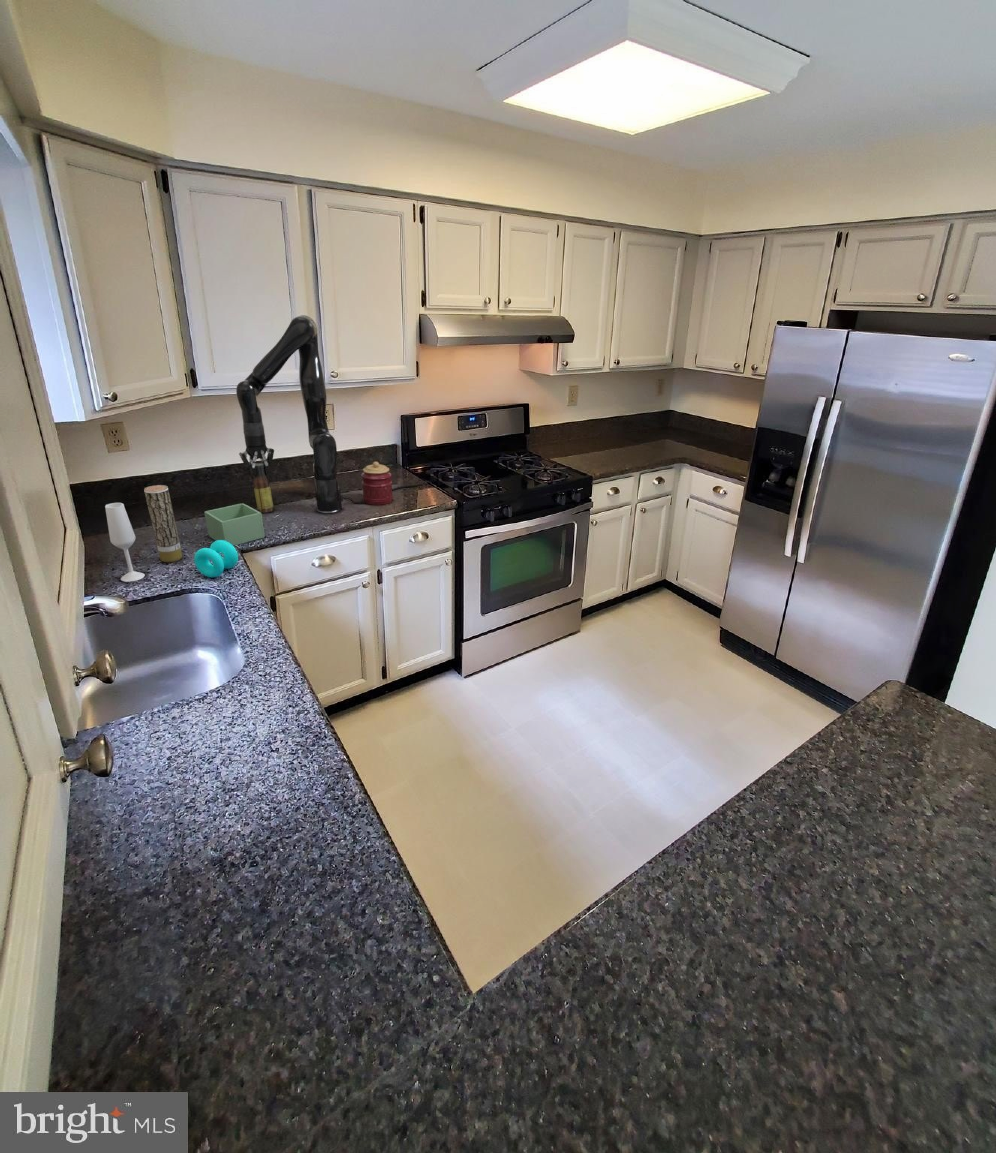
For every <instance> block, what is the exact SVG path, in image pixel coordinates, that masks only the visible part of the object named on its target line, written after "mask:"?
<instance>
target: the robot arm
mask: <svg viewBox="0 0 996 1153" xmlns="http://www.w3.org/2000/svg"><path fill="white" fill-rule="evenodd" d="M318 336H319V335H318V326H317V323H316V322H315V320H314V319H313V318H311V316H308V315H306V314H305V315H304V314H302V315H298V316H295V317H293V318H292V319H291V320H290V323H289V324H288V327H287V328H286V329H285V331H284V333H283V335H281V337H280V338H279V340H278V342H276V344H275V345H274V346H273V347H272V348H271V349H270V350H269V351H268V352H267V353H266V354H265V355H264V356H263V357H262V358H261V359H260V361H259V362H258V363H257V364H256V365H255V366H254V367H253V368H252V372H251V373H250V374H249V375H248V376H247V377H246V378H245V379H244V380H242V381H240V382H239V383H238V384H237V385H236V389H235V391H236V392H235V393H236V398H237V402H238V404H239V407H240V410H241V417H242V430H243V437H244V443H245V451H243V452H239V454H238V455H239V457H240V459H241V461H242V463H243V465H244V466H245V467H247V468H249V469H250V475H251V476H252V477H253V478H254V477H257V475H256V468H255V463H257V460H260V461H261V463H263V464H264V473H265V475H266V476H268V474H269V465H271V464H272V463H273V460H274V453H275V449H273V448H272V447H268V446H267V443H266V442H267V441H266V434H265V433H266V432H265V426H264V423H263V416H262V410H261V408H260V406H258V401H257V397H258V396H259V395H260V394H261V393H262V391H263V390H264V389H265V387H266V386H267V385H268V384H269V383H270V382H271V381H272V380H273V379H274V378H275V376H277V374H278V373H279V372H280V371H281V370H282V369H283V367H284V366H285V364H286V363H287V362H288V360H289V359H290V358H291V357H292V356H293V355H294V354H295V353H296V352H297V351H298V357H299V366H298V367H299V368H298V372H299V373H298V375H299V376H298V380H299V386H300V392H301V397H302V403H303V406H304V410H305V415H306V419H307V432H308V443H309V444H308V445H309V446H310V448H311V449H312V452H313V464H312V470H313V479H314V489H315V490H314V491H315V502H316V511H317V513H320V514H327V515H330V514H336V513H338V512H340V511H342V510H343V503H342V502H344V500H348V501H350V502H351V503H353V504H366V503H365V501H364V500H362V501H359V500H358V501H357V500H354V499H352V498H350V497H348V496H344V495H342V492H341V490H342V489H341V487H339V481H338V469H337V468H338V467H337V466H338V449H337V448H338V447H337V442H336V439H335V436H333V435H332V434H331V433H330V430H329V427H328V421H327V416H326V413H327V412H326V411H327V401H328V400H327V389H326V383H325V382H326V381H325V377H324V372H323V367H322V363H321V358H320V351H319V337H318ZM266 454H267V455H266ZM248 456H249V458H248ZM248 459H249V460H248ZM429 481H430V480H424V481H421V482H420V483H423V484H426V483H425V482H428V483H427V484H430V485H433V483H432V482H431V481H430V482H429ZM416 484H417V485H414V484H406V485H407V486H405V485H400V486H401V487H399V486H396V487H397V488H395V487H393V488H394V489H393V488H392V492H393V491H395V490H399V489H403V488H413V487H418V486H421V485H423V484H419V483H416Z"/></svg>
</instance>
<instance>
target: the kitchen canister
mask: <svg viewBox="0 0 996 1153" xmlns="http://www.w3.org/2000/svg"><path fill="white" fill-rule="evenodd" d="M360 475H361V478H362V481H361V486H362V501H365V503H364V504H367V505H371V506H378V505H379V506H381V505H386V504H389V503H391V502H392V501H393V498H394V497H393V491H392V489H393V485H392V484H393V481H392V479H391V477H392V472H390V468H389V467H387V466H386V465H384V464H380V463H379V462H378V461H373V462H372V464H368V465H366V466H365V467H364V468H363V469H362V473H361V474H360Z"/></svg>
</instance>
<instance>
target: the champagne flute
mask: <svg viewBox="0 0 996 1153" xmlns="http://www.w3.org/2000/svg"><path fill="white" fill-rule="evenodd" d="M104 508H105V514H106V515H105V516H106V521H107V522H106V523H107V528H108V535H109V541H110V543H111V544H112V545H113V546H114V547H115V548H118V549H120V550H123V553H124V556H125V561H126V564H127V565H126V566H127V569H128V572H127V573H126V574H124V575H122V576H121V577H120V580H121V581H122V582H126V583H129V582H136V581H139V580H142V579H143V578H145V575H146V574H145V573H143V572H140V571H137V570H136V571H135V570H134V568H133V567H134V566H133V563H132V559H131V556H130V552H129V549H130V548H131V547H132V546H133V544H134V543H135V541H136V535H135V532H134V529H133V526H132V523H131V521H130V519H129V516H128V513H127V510H126V508H125V504H124V503H122V502H111V503H107V504H105V506H104Z"/></svg>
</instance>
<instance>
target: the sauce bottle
mask: <svg viewBox="0 0 996 1153" xmlns="http://www.w3.org/2000/svg"><path fill="white" fill-rule="evenodd" d="M255 468H256V475H257V477H253V480H252V483H253V490H254V496H255V497H254V498H255V502H256V507H257V511H258V512H260V513H261V514H267V513H268V514H269V513H272V512H273V511H274V502H273V496H272V490H271V485H270V481H269V480H268V478H267V475H265V473H264V464H263V463H262V462H256V463H255Z"/></svg>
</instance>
